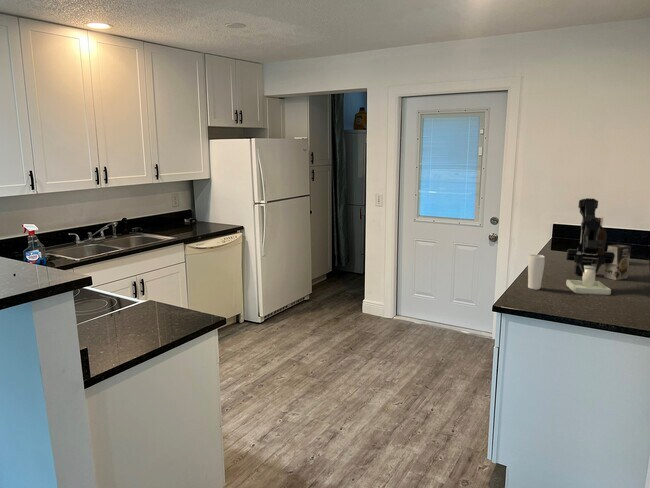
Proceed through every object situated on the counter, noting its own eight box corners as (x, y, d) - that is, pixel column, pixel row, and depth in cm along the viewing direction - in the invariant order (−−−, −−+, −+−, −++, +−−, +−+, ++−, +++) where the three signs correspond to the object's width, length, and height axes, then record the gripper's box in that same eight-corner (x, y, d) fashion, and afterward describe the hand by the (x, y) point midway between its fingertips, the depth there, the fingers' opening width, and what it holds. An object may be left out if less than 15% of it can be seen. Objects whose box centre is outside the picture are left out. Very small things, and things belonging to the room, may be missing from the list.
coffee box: (616, 280, 239) (620, 247, 236) (603, 277, 244) (607, 245, 241) (627, 278, 243) (631, 246, 240) (615, 275, 249) (618, 243, 246)
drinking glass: (541, 287, 226) (544, 254, 224) (542, 291, 220) (545, 257, 217) (525, 285, 228) (528, 253, 226) (526, 289, 222) (529, 256, 219)
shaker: (588, 284, 225) (590, 264, 223) (596, 286, 220) (599, 267, 218) (579, 284, 224) (581, 265, 222) (587, 287, 219) (589, 267, 217)
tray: (598, 286, 228) (599, 281, 227) (610, 295, 214) (610, 289, 214) (566, 285, 230) (566, 279, 230) (575, 293, 217) (576, 287, 216)
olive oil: (591, 259, 285) (595, 216, 281) (608, 263, 276) (613, 218, 271) (577, 261, 281) (582, 217, 276) (594, 264, 271) (599, 219, 267)
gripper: (569, 231, 225) (568, 260, 217) (616, 234, 217) (617, 264, 210) (566, 245, 233) (565, 273, 225) (612, 248, 226) (612, 277, 218)
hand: (589, 272), depth 219 cm, fingers closed on shaker, 5 cm apart
